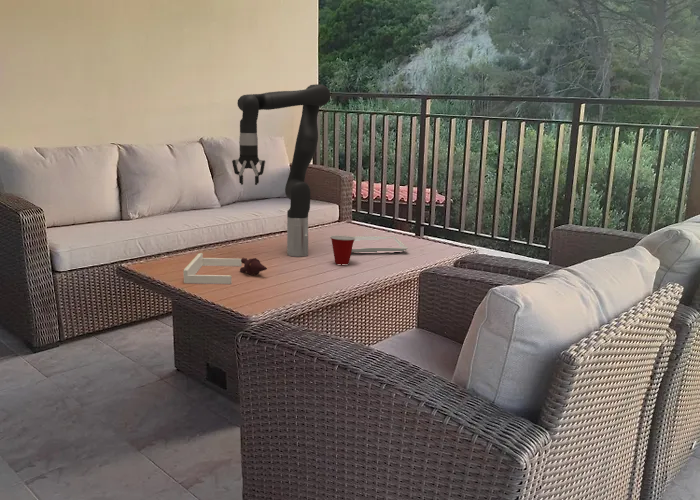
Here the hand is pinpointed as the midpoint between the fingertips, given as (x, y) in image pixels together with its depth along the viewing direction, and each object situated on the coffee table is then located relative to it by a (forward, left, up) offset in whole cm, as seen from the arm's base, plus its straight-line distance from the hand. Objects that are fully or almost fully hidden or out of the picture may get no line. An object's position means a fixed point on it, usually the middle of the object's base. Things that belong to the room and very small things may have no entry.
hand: (249, 184), depth 267 cm
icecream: (-5, +25, -33) cm, 41 cm away
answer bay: (+10, +25, -32) cm, 42 cm away
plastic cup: (-40, +5, -33) cm, 52 cm away
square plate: (-55, -25, -33) cm, 69 cm away
